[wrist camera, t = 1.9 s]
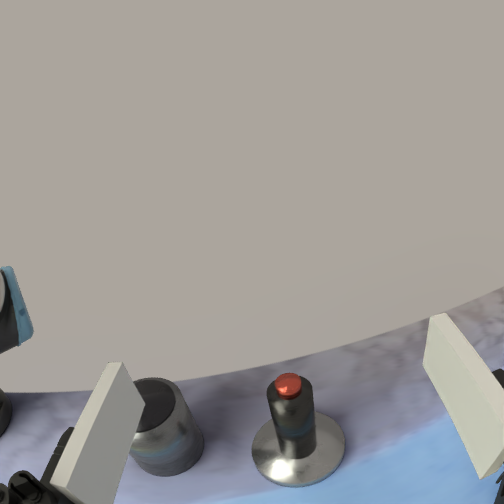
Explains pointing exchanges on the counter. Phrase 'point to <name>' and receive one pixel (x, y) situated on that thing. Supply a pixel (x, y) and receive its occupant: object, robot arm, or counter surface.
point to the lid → (296, 436)
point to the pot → (165, 430)
